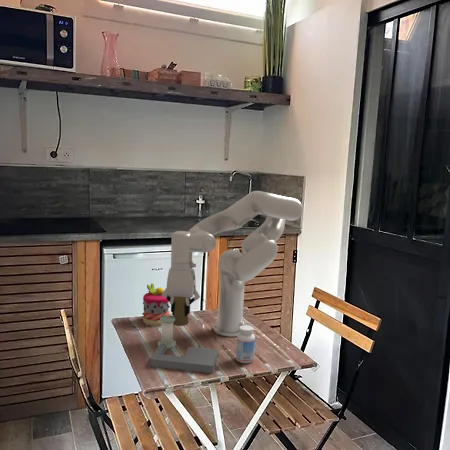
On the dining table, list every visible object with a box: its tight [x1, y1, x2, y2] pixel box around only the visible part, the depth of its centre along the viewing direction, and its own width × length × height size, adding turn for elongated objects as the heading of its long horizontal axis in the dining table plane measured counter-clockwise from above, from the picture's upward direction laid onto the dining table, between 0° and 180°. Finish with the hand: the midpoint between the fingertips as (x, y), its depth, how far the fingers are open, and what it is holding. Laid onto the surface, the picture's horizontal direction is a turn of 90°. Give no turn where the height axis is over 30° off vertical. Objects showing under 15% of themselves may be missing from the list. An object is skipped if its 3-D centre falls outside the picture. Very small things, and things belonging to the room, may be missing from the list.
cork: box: [172, 296, 189, 327], centre depth 167 cm, size 6×6×11 cm
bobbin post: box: [157, 314, 177, 350], centre depth 160 cm, size 6×6×10 cm
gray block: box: [149, 344, 219, 374], centre depth 149 cm, size 20×12×2 cm, turn 83°
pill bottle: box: [235, 325, 256, 364], centre depth 152 cm, size 6×6×11 cm
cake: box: [141, 282, 171, 327], centre depth 182 cm, size 10×11×15 cm
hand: (180, 314), depth 167 cm, fingers closed on cork, 4 cm apart
